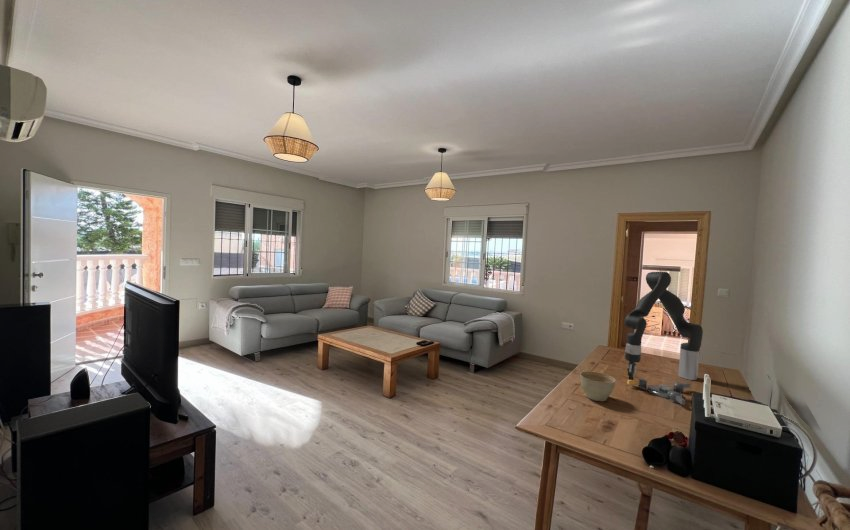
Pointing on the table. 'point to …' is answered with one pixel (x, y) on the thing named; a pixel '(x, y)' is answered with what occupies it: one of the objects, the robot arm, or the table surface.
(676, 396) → the knob
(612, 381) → the planter bowl
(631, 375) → the robot arm
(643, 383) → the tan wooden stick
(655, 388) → the base
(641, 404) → the table surface
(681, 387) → the grey bar with ball
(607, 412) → the table surface
